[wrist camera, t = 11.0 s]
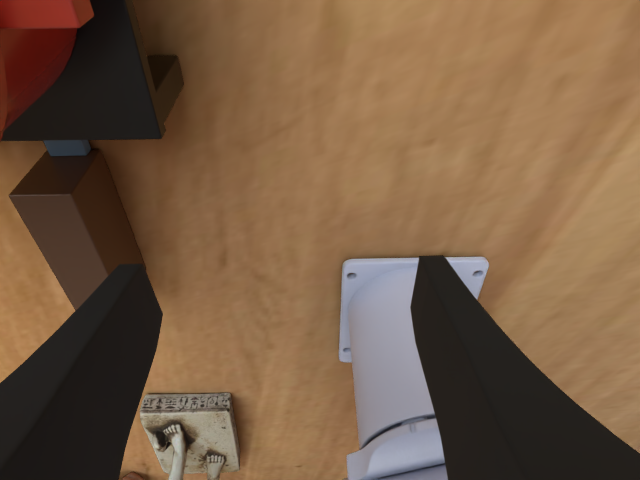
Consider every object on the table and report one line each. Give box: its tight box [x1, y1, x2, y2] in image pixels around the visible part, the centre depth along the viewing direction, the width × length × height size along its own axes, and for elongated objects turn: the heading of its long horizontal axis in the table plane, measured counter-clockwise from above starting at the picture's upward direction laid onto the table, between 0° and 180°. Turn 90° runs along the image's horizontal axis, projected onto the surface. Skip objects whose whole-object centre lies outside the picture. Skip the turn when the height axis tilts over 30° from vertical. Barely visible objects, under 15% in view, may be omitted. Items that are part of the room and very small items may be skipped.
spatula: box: [9, 140, 146, 310], centre depth 18 cm, size 16×5×3 cm, turn 0°
